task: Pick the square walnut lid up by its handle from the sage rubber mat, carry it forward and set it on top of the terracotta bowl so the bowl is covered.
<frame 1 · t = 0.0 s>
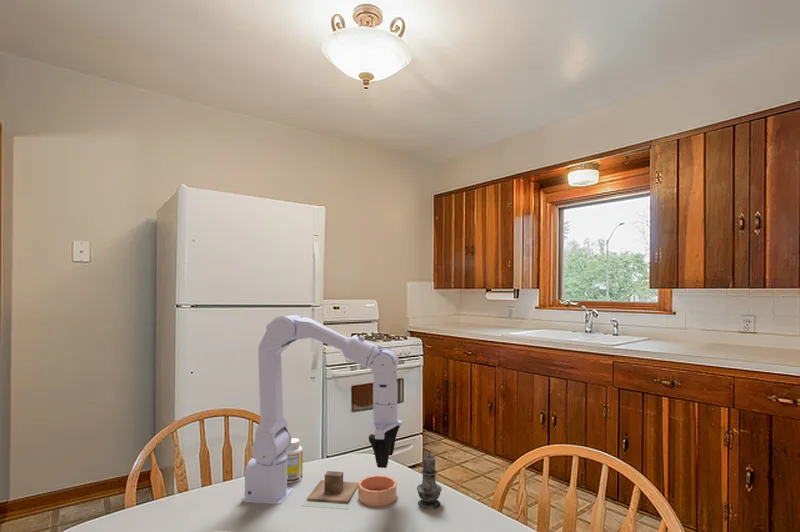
hand: (385, 460, 106), 10 cm above the table, tool pointing down, fingers open, 7 cm apart
supplement bottle: (291, 480, 120), on the table
terracotta bowl: (377, 498, 109), on the table
sage rubber mat: (333, 495, 111), on the table
salt shaker: (429, 504, 106), on the table
walnut lid: (333, 492, 111), resting on sage rubber mat
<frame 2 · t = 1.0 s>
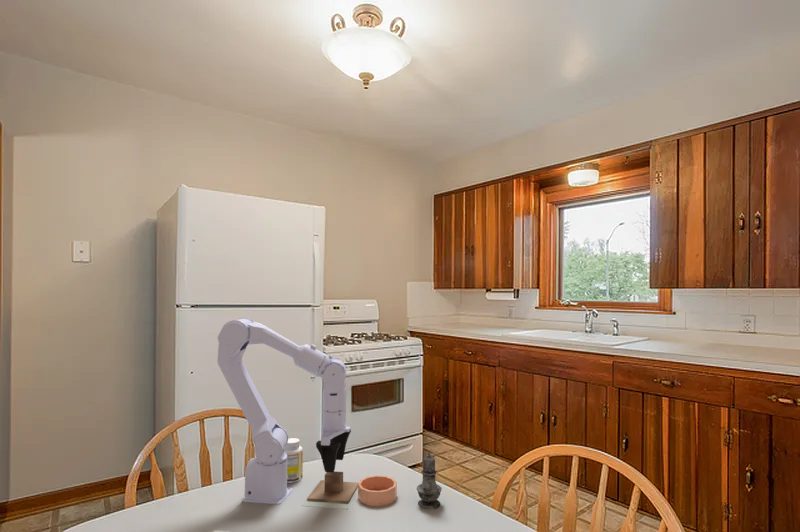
hand: (334, 465, 112), 7 cm above the table, tool pointing down, fingers open, 7 cm apart
nothing on the table moved.
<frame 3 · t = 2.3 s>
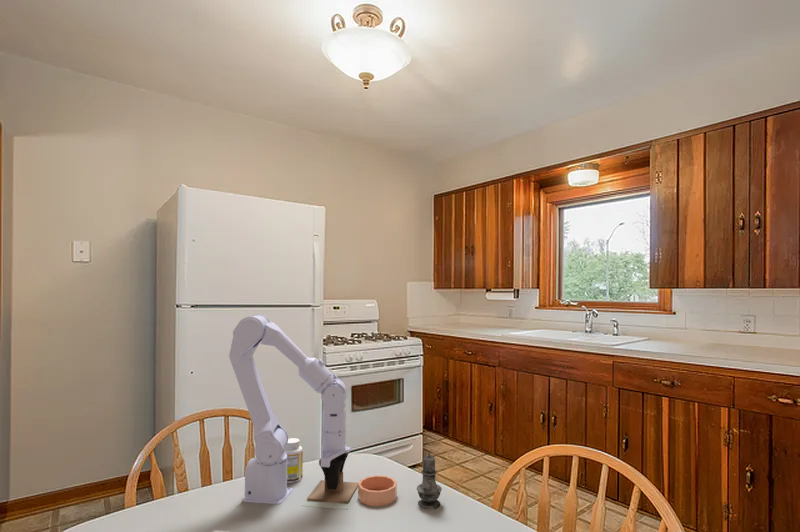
hand: (333, 485, 111), 2 cm above the table, tool pointing down, fingers closed on walnut lid, 2 cm apart
walnut lid: (333, 492, 111), resting on sage rubber mat, touching gripper
everything else where it was.
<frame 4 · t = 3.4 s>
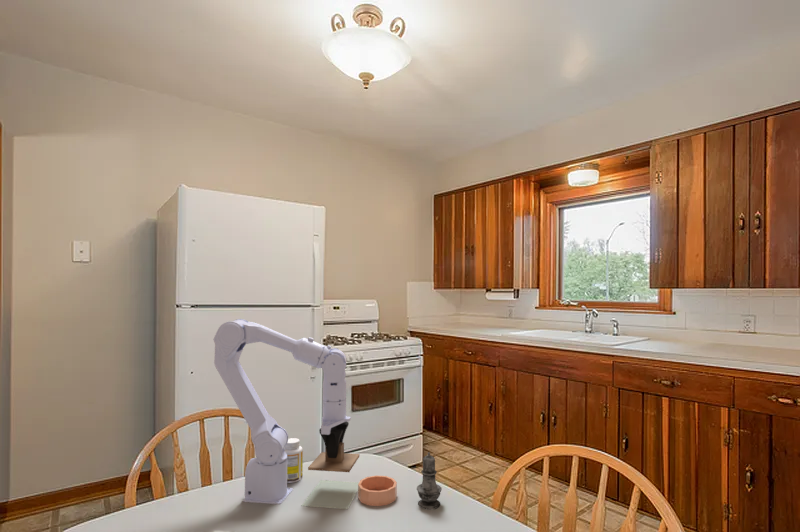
hand: (334, 455, 112), 9 cm above the table, tool pointing down, fingers closed on walnut lid, 2 cm apart
walnut lid: (334, 462, 112), point 8 cm above the table, touching gripper
everything else where it was.
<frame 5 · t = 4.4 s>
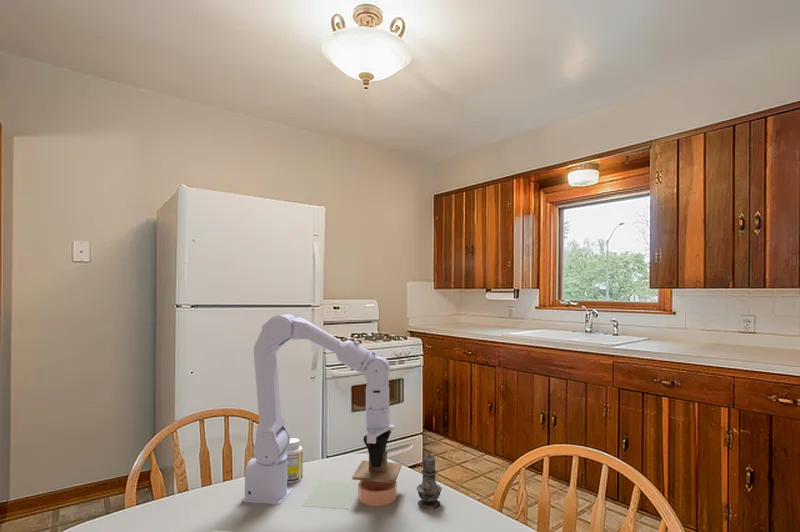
hand: (377, 464, 109), 8 cm above the table, tool pointing down, fingers closed on walnut lid, 2 cm apart
walnut lid: (377, 472, 109), point 6 cm above the table, touching gripper
everything else where it was.
when the fingers open (6 cm above the table, at t = 4.9 s): walnut lid stays where it is, resting on terracotta bowl.
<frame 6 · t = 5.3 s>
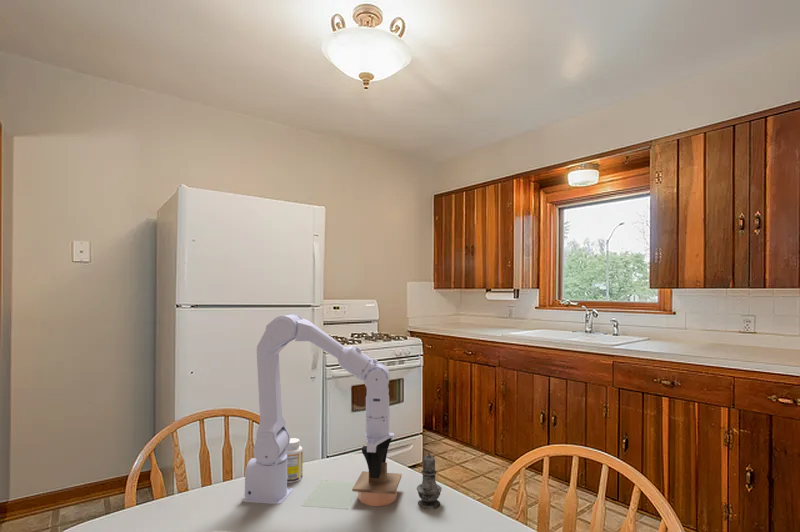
hand: (377, 472, 109), 6 cm above the table, tool pointing down, fingers open, 5 cm apart
walnut lid: (377, 483, 109), point 3 cm above the table, touching terracotta bowl
everything else where it was.
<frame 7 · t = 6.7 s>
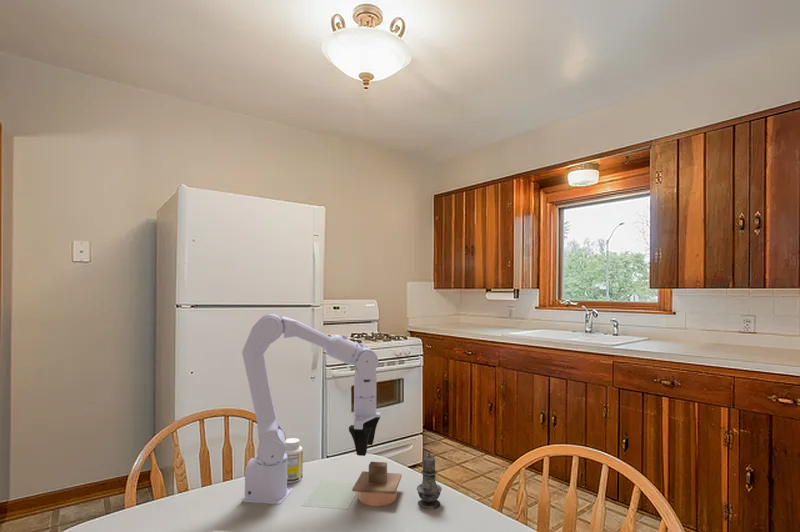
hand: (365, 449, 116), 9 cm above the table, tool pointing down, fingers open, 7 cm apart
nothing on the table moved.
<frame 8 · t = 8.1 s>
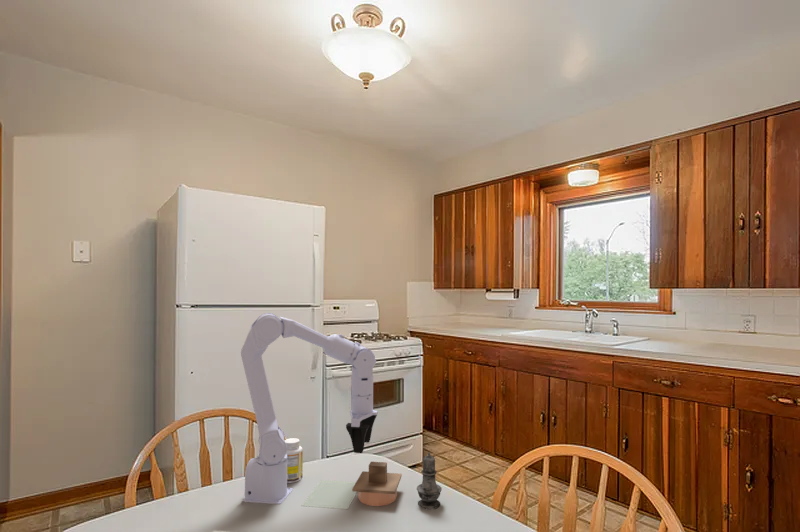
hand: (362, 447, 117), 9 cm above the table, tool pointing down, fingers open, 7 cm apart
nothing on the table moved.
at the end: walnut lid 0.1 cm off-centre on the terracotta bowl, point 3.5 cm above the terracotta bowl's base; walnut lid tilted 0°; the gripper is holding nothing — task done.
